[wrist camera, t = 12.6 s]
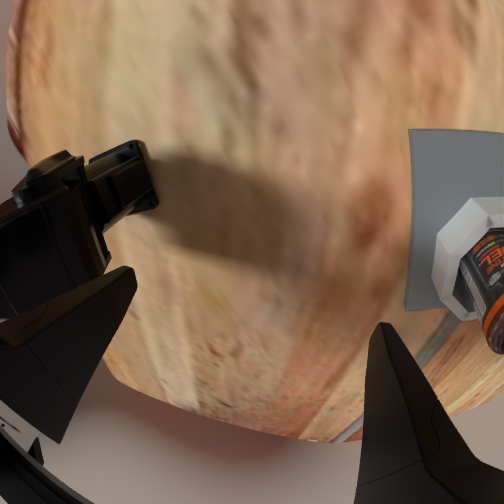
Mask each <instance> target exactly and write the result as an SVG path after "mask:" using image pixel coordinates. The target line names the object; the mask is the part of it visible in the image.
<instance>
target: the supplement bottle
mask: <svg viewBox="0 0 504 504" xmlns="http://www.w3.org/2000/svg"><path fill="white" fill-rule="evenodd" d="M458 274H459V276H460V278H461V281H462V282H463V285H464V287H465V289H466V291H467V293H468V295H469V298H470V300H471V302H472V305H473V307H474V309H475V312H476V314H477V317H478V319H479V322H480V324H481V327H482V330H483V332H484V335H485V338H486V341H487V343H488V345H489V347H490V348H491V350H492V351H494V352H495V353H497V354H502V355H503V354H504V229H503V228H502V227H499V228H490V229H489V230H488V231H487V232H486V233H485V234H484V236H483V237H482V238H481V239H480V240H479V241H478V242H477V243H476V244H475V245H474V246H473V247H472V248H471V249H470V250H469V251H468V252H467V253H466V254H465V255H464V256H463V257H462V258H461V259H460V262H459V267H458Z"/></svg>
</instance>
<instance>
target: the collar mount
mask: <svg viewBox="0 0 504 504" xmlns="http://www.w3.org/2000/svg"><path fill="white" fill-rule="evenodd" d="M408 131H409V142H410V155H411V174H412V225H411V244H410V257H409V268H408V277H407V286H406V293H405V300H404V307H405V311H416V310H425V309H434V308H442V307H448V308H449V309H450V310H451V311H452V312H453V313H454V314H455V315H456V316H457V317H458V318H459V319H460V320H461V322H462V321H468V320H474V319H478V317H477V314H476V312H475V309H474V307H473V305H472V302H471V300H470V298H469V295H468V293H467V291H466V289H465V287H464V285H463V282H462V281H461V278H460V276H459V274H458V267H459V262H460V259H461V258H462V257H463V256H464V255H465V254H466V253H467V252H468V251H469V250H470V249H471V248H472V247H473V246H474V245H475V244H476V243H477V242H478V241H479V240H480V239H481V238H482V237H483V236H484V234H485V233H486V232H487V231H488V230H489V229H490V228H499V227H502V228H503V229H504V133H499V132H488V131H475V130H457V129H408Z"/></svg>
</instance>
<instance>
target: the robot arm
mask: <svg viewBox="0 0 504 504" xmlns="http://www.w3.org/2000/svg"><path fill="white" fill-rule="evenodd" d="M132 144H133V145H134V147H132ZM84 163H85V161H84V156H78V157H75V156H72V155H71V154H70V153H69V152H68V151H67V150H63V151H60V152H58V153H56V154H54V155H52V156H50V157H48V158H46V159H44V160H42V161H41V162H39V163H38V164H36V165H35V166H34V167H32V168H31V169H29V170H28V172H27V174H26V176H25V177H24V178H23V179H22V180H21V181H20V182H19V183H18V184H17V185H16V186H15V188H13V189H12V191H11V192H12V195H13V197H12V198H10V199H8V200H6V201H5V202H3V203H1V204H0V320H6V321H4V322H1V323H0V495H1V497H2V498H3V499H4V500H5V501H6V502H7V503H8V504H94V503H92V502H91V501H89V500H88V499H86V498H84V497H83V496H82V495H80V494H78V493H77V492H76V491H74V490H72V489H71V488H70V487H68V486H67V485H66V484H64V483H63V482H61V481H60V480H59V479H58V478H57V477H55V476H54V475H53V474H51V473H50V472H49V471H48V470H46V469H45V468H44V467H43V464H44V460H43V456H42V452H41V447H40V443H39V438H38V437H37V435H38V433H39V431H40V432H41V433H43V434H44V435H46V436H47V437H49V438H50V439H52V440H53V441H55V442H56V443H58V444H60V443H61V441H62V439H63V436H64V434H65V432H66V430H67V427H68V425H69V423H70V420H71V419H72V416H73V414H74V412H75V410H76V408H77V406H78V403H79V401H80V399H81V397H82V395H83V393H84V390H85V389H86V387H87V385H88V383H89V381H90V379H91V377H92V375H93V373H94V371H95V369H96V368H97V366H98V364H99V362H100V360H101V358H102V356H103V355H104V353H105V351H106V349H107V347H108V345H109V344H110V342H111V340H112V338H113V336H114V335H115V333H116V331H117V329H118V328H119V326H120V324H121V322H122V320H123V318H124V316H125V314H126V312H127V310H128V307H129V305H130V303H131V301H132V299H133V297H134V295H135V293H136V290H137V280H136V276H135V272H134V269H133V268H131V267H128V266H121V267H119V268H117V269H115V270H113V271H111V272H108V273H106V274H104V272H105V270H106V268H107V266H108V264H109V262H110V260H111V258H112V257H111V254H110V251H108V249H107V246H106V243H105V240H104V237H103V234H104V233H105V232H106V231H107V230H108V229H110V228H111V227H112V226H113V225H114V224H116V223H117V222H118V221H119V220H121V219H122V218H123V217H124V216H126V215H128V214H132V213H137V212H141V211H146V210H151V209H154V208H156V207H157V206H158V205H159V201H158V198H157V196H156V193H155V190H154V188H153V185H152V182H151V179H150V176H149V174H148V171H147V168H146V165H145V162H144V159H143V156H142V153H141V150H140V147H139V144H138V142H137V141H136V140H131V141H128V142H126V143H124V144H121V145H119V146H117V147H115V148H112V149H110V150H108V151H106V152H104V153H102V154H100V155H97V156H95V157H93V158H91V159H90V160H89V164H88V165H86V166H84ZM152 202H154V204H153V203H152ZM103 274H104V275H103ZM437 399H438V398H437V396H436V394H435V392H434V391H433V389H432V387H431V386H430V384H429V382H428V381H427V379H426V377H425V376H424V374H423V372H422V371H421V369H420V368H419V366H418V364H417V363H416V361H415V360H414V358H413V356H412V355H411V353H410V352H409V350H408V349H407V347H406V346H405V344H404V342H403V341H402V339H401V338H400V336H399V335H398V333H397V332H396V330H395V329H394V327H393V326H392V325H391V324H390V323H385V322H379V323H378V325H377V327H376V328H375V330H374V332H373V334H372V336H371V338H370V341H369V349H368V359H367V368H366V377H365V398H364V421H363V435H362V447H361V457H360V466H359V474H358V481H357V486H358V487H356V493H355V500H354V504H504V471H503V470H500V469H497V468H495V467H493V466H490V465H488V464H486V463H483V462H482V461H480V460H479V459H478V458H476V457H475V456H474V454H473V453H472V452H471V450H470V449H469V447H468V446H467V444H466V443H465V441H464V439H463V438H462V436H461V435H460V433H459V432H458V430H457V429H456V427H455V426H454V424H453V423H452V421H451V420H450V418H449V416H448V415H447V413H446V411H445V410H444V408H443V406H442V404H441V403H440V401H439V400H437Z"/></svg>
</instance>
